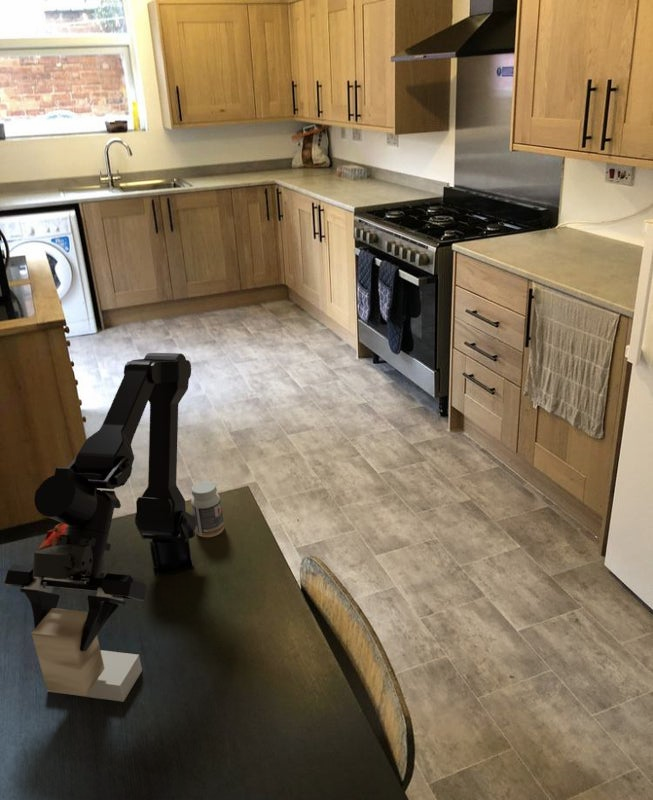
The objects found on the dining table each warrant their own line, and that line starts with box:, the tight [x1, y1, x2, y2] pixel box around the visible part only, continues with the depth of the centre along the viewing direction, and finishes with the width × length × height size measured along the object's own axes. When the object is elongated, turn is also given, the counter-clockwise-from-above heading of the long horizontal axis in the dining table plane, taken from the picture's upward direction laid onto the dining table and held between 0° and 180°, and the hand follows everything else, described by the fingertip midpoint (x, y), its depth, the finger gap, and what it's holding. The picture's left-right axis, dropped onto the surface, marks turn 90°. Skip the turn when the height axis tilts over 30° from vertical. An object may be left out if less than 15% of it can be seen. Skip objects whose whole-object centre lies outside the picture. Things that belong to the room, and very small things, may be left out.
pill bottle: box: [190, 480, 225, 538], centre depth 136 cm, size 6×6×10 cm
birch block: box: [30, 607, 105, 696], centre depth 96 cm, size 5×6×10 cm
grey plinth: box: [46, 649, 143, 703], centre depth 102 cm, size 6×12×3 cm, turn 78°
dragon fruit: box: [36, 522, 68, 551], centre depth 130 cm, size 8×8×12 cm
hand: (61, 648), depth 94 cm, fingers open, 6 cm apart
